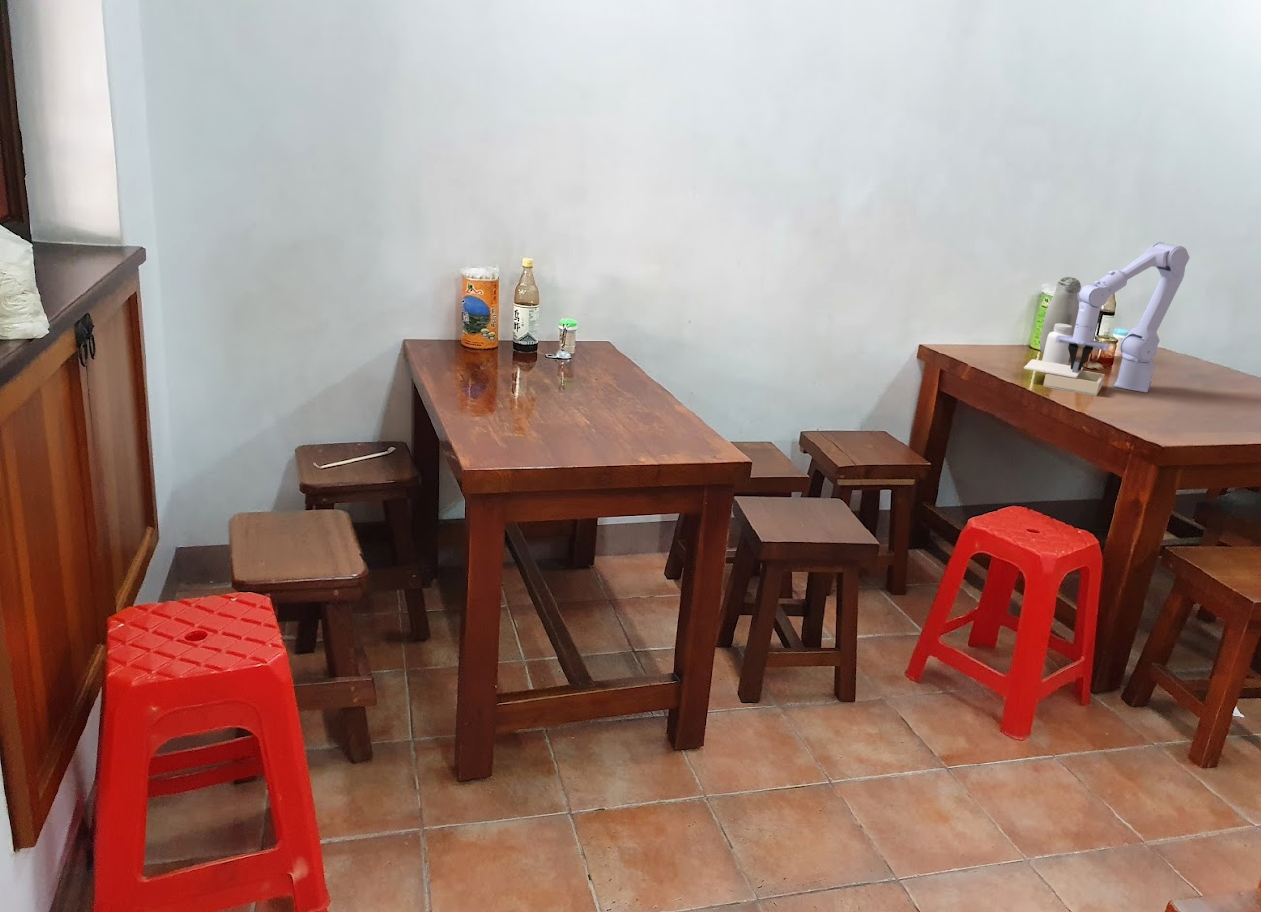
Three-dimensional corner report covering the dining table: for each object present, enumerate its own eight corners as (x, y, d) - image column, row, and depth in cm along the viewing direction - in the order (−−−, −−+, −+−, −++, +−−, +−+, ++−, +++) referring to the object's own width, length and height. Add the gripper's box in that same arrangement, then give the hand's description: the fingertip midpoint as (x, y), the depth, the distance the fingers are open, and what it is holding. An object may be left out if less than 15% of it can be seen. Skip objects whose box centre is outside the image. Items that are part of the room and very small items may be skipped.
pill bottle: (1063, 374, 308) (1073, 328, 303) (1037, 369, 312) (1047, 324, 307) (1069, 370, 314) (1079, 325, 309) (1044, 365, 318) (1053, 321, 313)
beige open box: (1101, 386, 296) (1104, 374, 294) (1096, 396, 284) (1099, 383, 283) (1050, 377, 303) (1053, 365, 301) (1043, 386, 291) (1045, 373, 290)
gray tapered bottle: (1030, 355, 332) (1047, 274, 322) (1054, 354, 335) (1072, 274, 326) (1050, 362, 323) (1068, 279, 314) (1074, 362, 326) (1093, 280, 317)
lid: (1082, 369, 297) (1085, 357, 296) (1075, 377, 286) (1078, 366, 285) (1031, 360, 304) (1034, 349, 303) (1023, 368, 293) (1026, 356, 292)
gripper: (1058, 323, 287) (1048, 367, 292) (1110, 331, 281) (1099, 376, 285) (1061, 320, 293) (1052, 363, 298) (1113, 328, 286) (1102, 371, 291)
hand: (1075, 369), depth 292 cm, fingers closed on lid
